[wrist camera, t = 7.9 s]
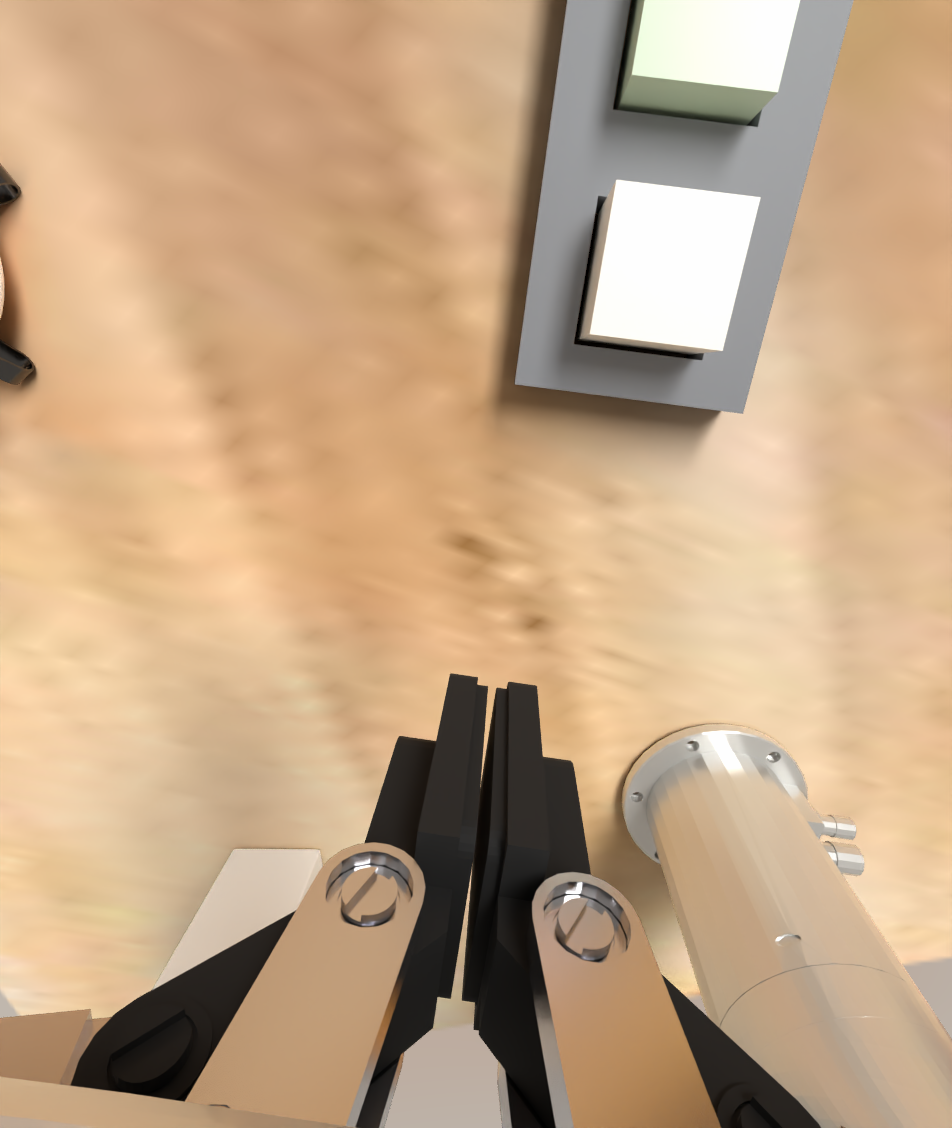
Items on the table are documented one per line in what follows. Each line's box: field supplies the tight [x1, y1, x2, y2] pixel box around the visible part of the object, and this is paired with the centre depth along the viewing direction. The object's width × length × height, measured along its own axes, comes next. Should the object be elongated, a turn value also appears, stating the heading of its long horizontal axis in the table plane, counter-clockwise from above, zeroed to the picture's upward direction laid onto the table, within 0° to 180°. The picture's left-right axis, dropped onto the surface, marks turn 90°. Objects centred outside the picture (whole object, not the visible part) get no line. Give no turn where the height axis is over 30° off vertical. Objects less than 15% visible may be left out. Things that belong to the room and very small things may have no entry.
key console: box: [514, 0, 853, 414], centre depth 26 cm, size 12×31×3 cm, turn 173°
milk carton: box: [152, 849, 323, 990], centre depth 37 cm, size 7×7×19 cm
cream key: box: [577, 180, 761, 355], centre depth 27 cm, size 6×6×5 cm
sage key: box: [614, 0, 800, 126], centre depth 24 cm, size 6×6×5 cm
